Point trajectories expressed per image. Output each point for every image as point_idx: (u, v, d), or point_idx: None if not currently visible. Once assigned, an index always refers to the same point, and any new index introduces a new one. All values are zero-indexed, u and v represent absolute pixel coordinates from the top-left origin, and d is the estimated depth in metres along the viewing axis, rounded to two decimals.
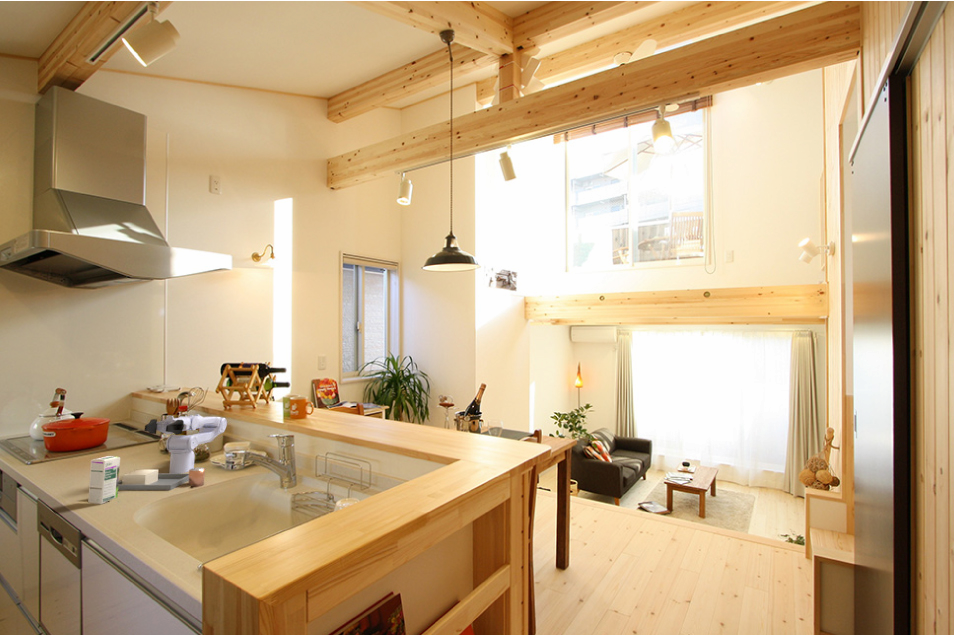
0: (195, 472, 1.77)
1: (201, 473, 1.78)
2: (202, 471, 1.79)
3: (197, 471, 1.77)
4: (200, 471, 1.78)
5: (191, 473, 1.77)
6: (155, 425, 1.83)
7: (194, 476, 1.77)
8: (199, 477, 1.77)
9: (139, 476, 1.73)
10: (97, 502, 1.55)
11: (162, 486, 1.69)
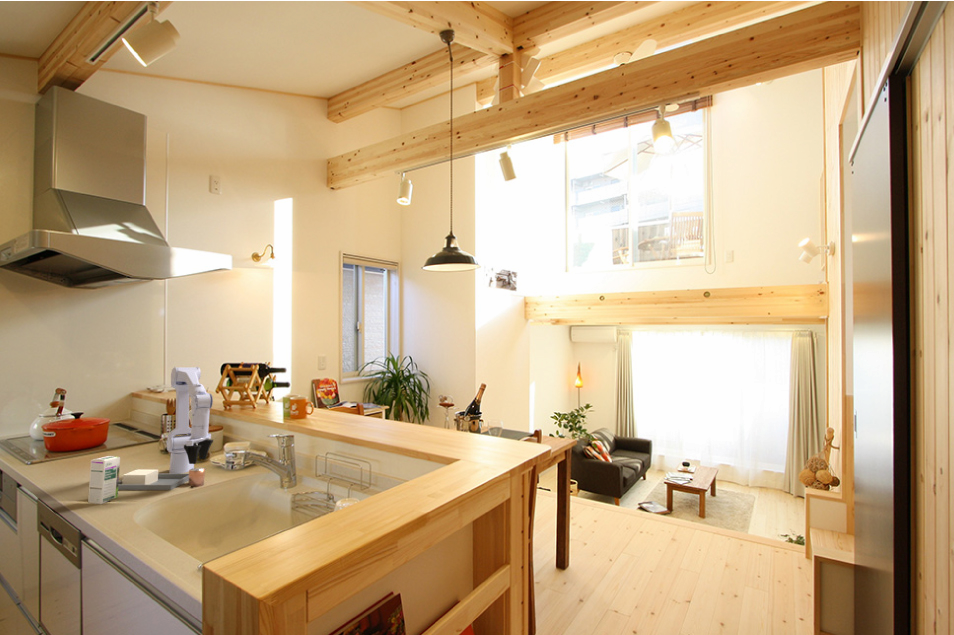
0: (195, 472, 1.77)
1: (201, 473, 1.78)
2: (202, 471, 1.79)
3: (197, 471, 1.77)
4: (200, 471, 1.78)
5: (191, 473, 1.77)
6: None
7: (194, 476, 1.77)
8: (199, 477, 1.77)
9: (139, 476, 1.73)
10: (97, 502, 1.55)
11: (162, 486, 1.69)
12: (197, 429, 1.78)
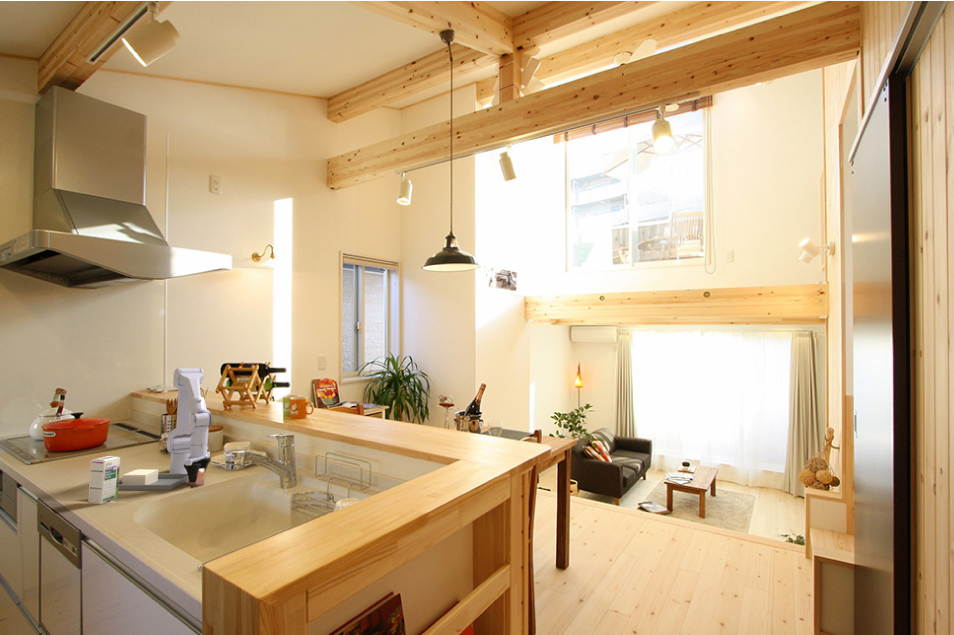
0: None
1: (201, 473, 1.78)
2: (202, 471, 1.79)
3: None
4: (200, 471, 1.78)
5: None
6: None
7: None
8: (199, 477, 1.77)
9: (139, 476, 1.73)
10: (97, 502, 1.55)
11: (162, 486, 1.69)
12: (196, 448, 1.77)
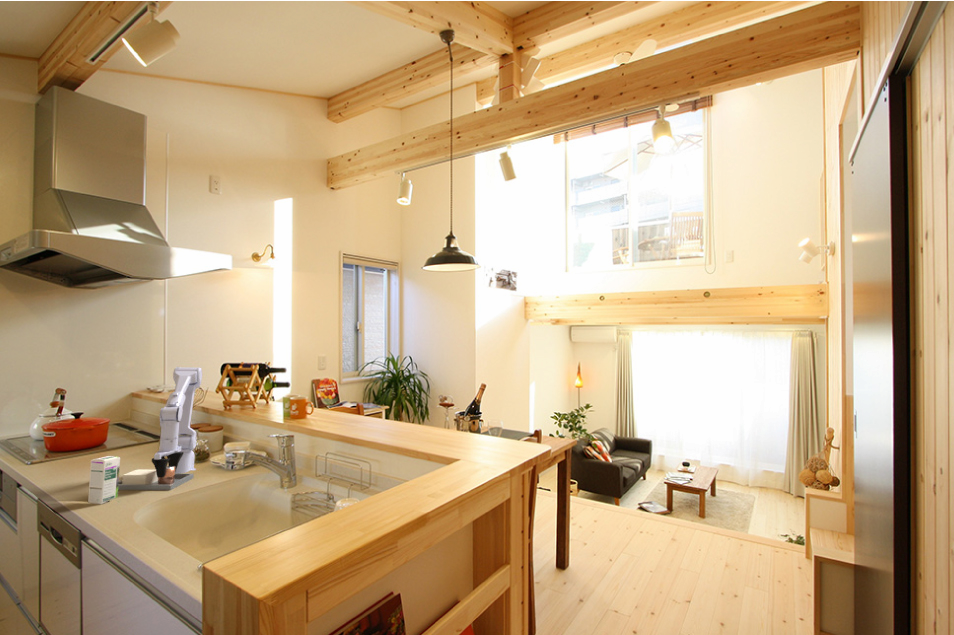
0: None
1: (171, 471, 1.76)
2: (172, 469, 1.77)
3: (167, 469, 1.75)
4: (170, 469, 1.76)
5: None
6: None
7: None
8: (169, 475, 1.76)
9: (139, 476, 1.73)
10: (97, 502, 1.55)
11: (162, 486, 1.69)
12: (166, 442, 1.75)
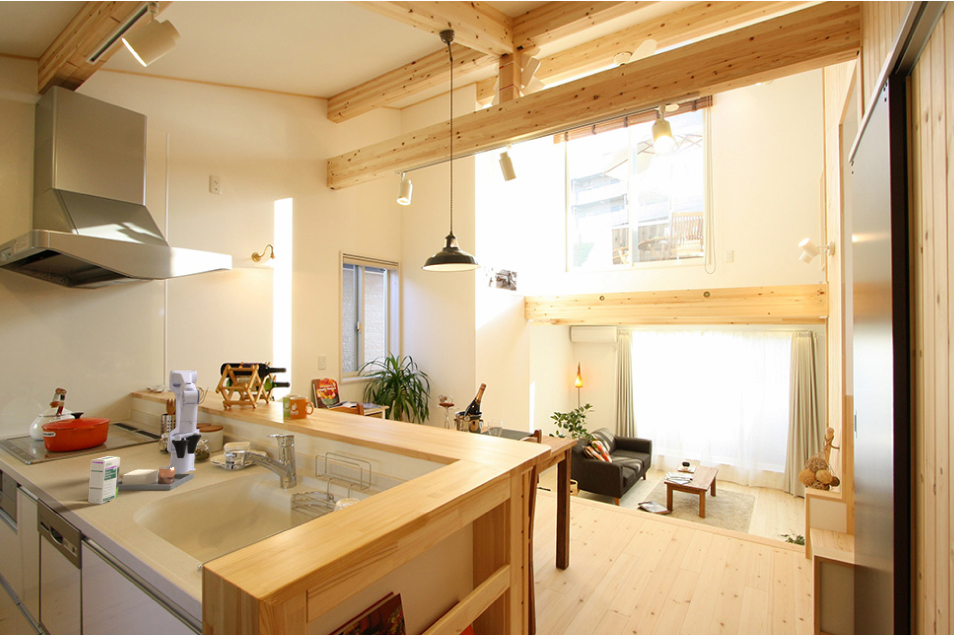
0: (165, 470, 1.75)
1: (171, 471, 1.76)
2: (172, 469, 1.77)
3: (167, 469, 1.75)
4: (170, 469, 1.76)
5: (161, 471, 1.75)
6: None
7: (164, 474, 1.75)
8: (169, 475, 1.76)
9: (139, 476, 1.73)
10: (97, 502, 1.55)
11: (162, 486, 1.69)
12: (185, 424, 1.82)
